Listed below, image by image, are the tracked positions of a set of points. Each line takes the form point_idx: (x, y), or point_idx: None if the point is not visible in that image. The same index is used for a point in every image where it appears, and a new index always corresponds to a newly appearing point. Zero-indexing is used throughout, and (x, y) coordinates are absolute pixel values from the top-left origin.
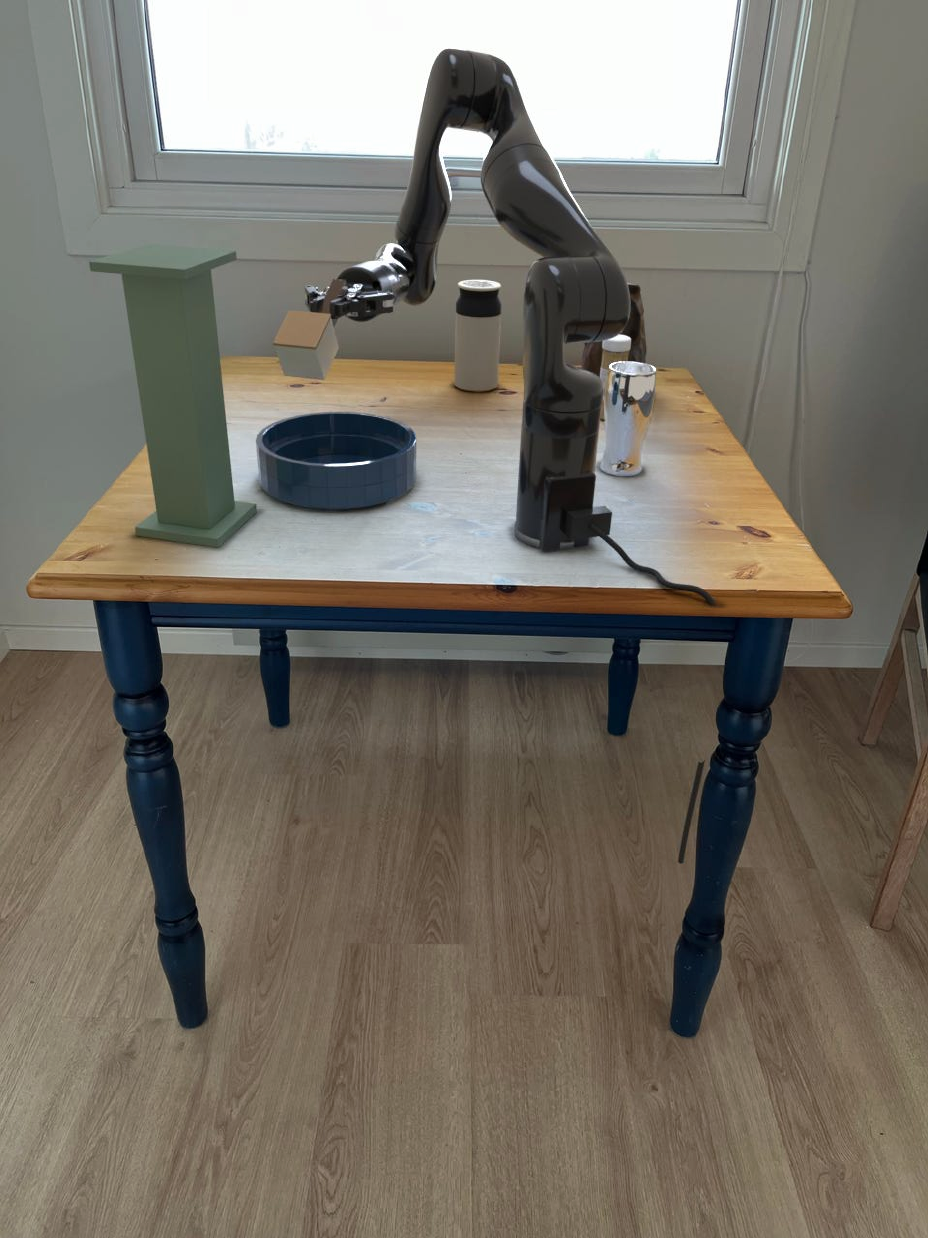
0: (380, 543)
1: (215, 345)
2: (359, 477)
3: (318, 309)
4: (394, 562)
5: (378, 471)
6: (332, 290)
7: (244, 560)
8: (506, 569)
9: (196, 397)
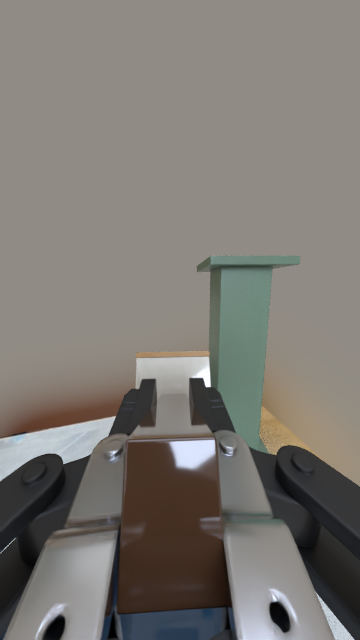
0: None
1: (217, 331)
2: None
3: (189, 398)
4: (86, 438)
5: None
6: (179, 416)
7: None
8: (5, 451)
9: (209, 347)
